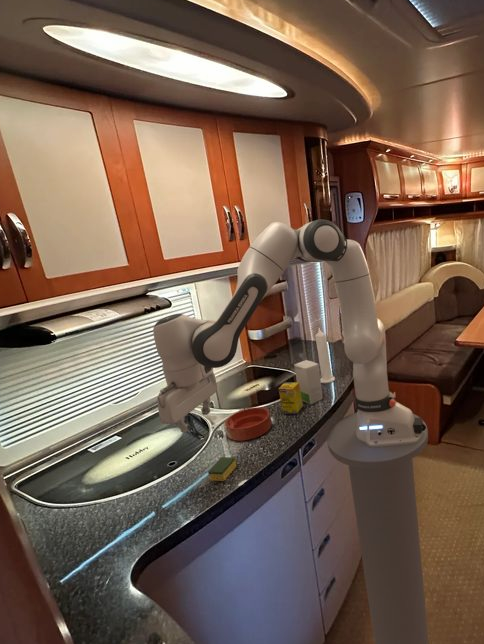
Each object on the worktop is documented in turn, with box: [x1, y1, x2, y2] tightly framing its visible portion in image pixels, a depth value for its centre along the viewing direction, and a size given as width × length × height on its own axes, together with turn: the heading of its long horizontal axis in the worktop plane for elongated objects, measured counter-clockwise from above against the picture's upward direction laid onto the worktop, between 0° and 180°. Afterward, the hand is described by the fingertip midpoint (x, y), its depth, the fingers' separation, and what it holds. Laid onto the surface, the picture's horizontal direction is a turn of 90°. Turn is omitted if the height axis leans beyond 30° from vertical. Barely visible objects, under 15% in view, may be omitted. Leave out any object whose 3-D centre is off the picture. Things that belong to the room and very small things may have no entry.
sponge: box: [207, 456, 237, 482], centre depth 110 cm, size 4×7×3 cm, turn 168°
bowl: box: [224, 406, 273, 442], centre depth 132 cm, size 15×15×5 cm
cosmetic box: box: [293, 359, 324, 405], centre depth 150 cm, size 8×7×16 cm
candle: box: [314, 327, 336, 384], centre depth 166 cm, size 7×7×25 cm
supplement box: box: [278, 381, 304, 416], centre depth 142 cm, size 6×6×11 cm
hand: (196, 421), depth 103 cm, fingers open, 8 cm apart
